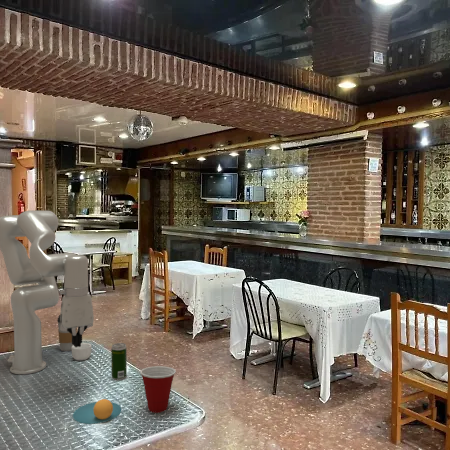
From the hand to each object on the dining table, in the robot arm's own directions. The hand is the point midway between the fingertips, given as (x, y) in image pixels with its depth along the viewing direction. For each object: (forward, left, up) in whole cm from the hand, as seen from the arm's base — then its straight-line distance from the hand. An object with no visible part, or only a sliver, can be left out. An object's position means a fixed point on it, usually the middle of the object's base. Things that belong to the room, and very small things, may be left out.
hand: (77, 345), depth 146 cm
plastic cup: (+32, -5, -15) cm, 36 cm away
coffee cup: (-30, +35, -15) cm, 49 cm away
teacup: (-18, +27, -15) cm, 36 cm away
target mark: (+16, -12, -15) cm, 25 cm away
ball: (+19, -15, -12) cm, 28 cm away
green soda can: (+8, +13, -15) cm, 22 cm away
